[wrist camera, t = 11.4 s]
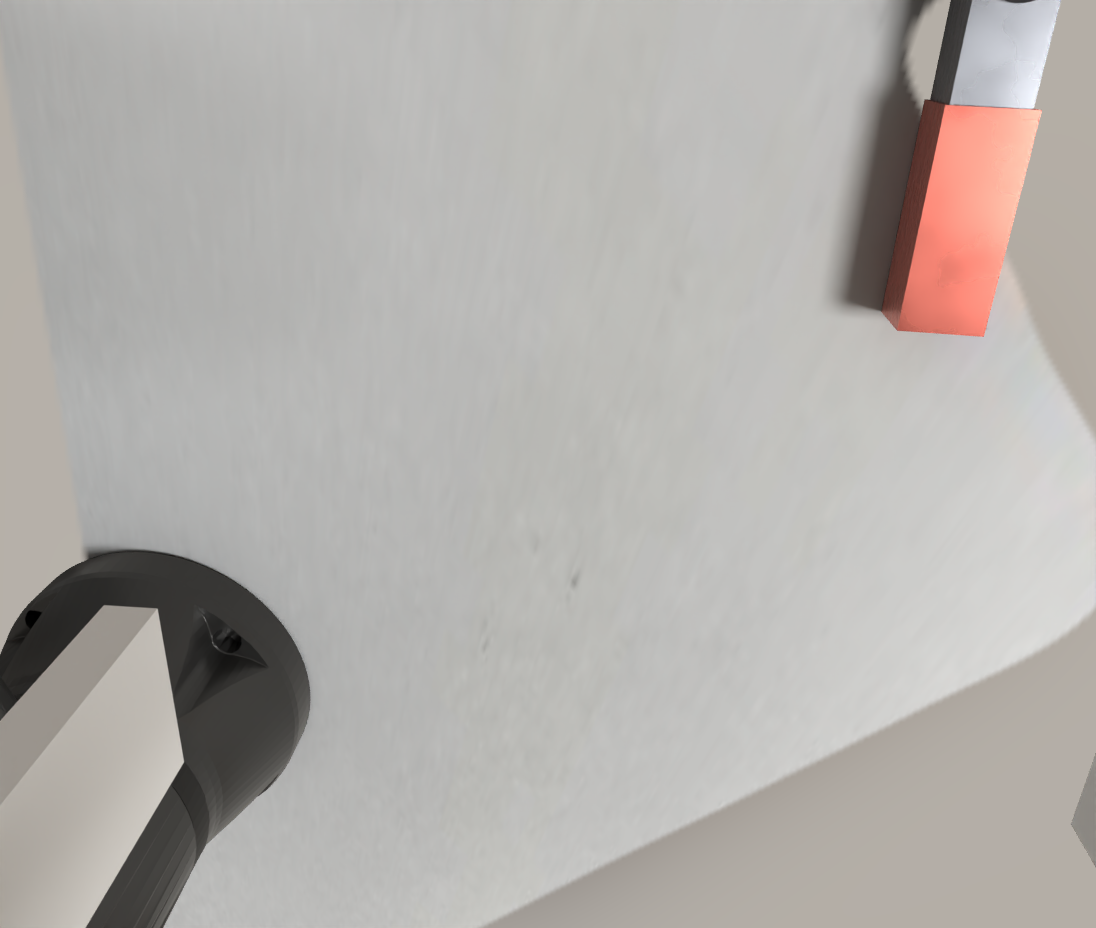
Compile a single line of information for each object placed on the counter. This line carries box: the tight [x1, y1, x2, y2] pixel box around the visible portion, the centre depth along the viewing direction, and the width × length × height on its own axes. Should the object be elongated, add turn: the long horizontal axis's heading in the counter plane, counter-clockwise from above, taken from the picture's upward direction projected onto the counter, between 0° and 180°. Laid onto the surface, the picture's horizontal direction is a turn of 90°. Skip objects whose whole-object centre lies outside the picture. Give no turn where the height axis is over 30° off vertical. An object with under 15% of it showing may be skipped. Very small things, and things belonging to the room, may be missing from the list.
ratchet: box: [881, 0, 1061, 337], centre depth 31 cm, size 6×20×6 cm, turn 178°
